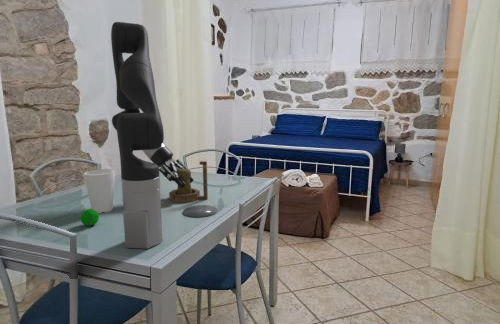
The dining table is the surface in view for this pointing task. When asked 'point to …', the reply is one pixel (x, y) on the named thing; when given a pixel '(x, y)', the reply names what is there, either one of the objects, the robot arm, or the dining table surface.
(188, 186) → the cork
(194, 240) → the dining table surface
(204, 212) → the slate coaster
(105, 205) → the foam cup
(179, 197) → the ring stand
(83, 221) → the polyhedron
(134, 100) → the robot arm
